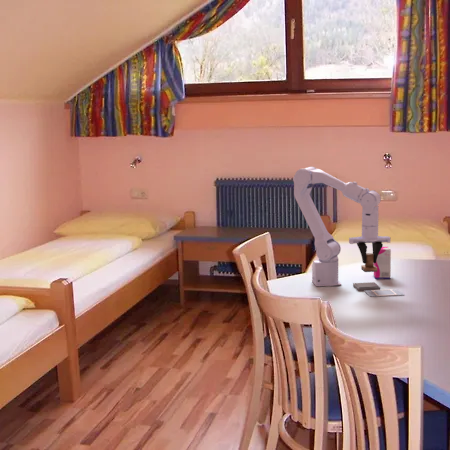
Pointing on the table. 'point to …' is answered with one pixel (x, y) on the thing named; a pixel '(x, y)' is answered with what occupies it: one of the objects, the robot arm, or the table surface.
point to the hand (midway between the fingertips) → (369, 262)
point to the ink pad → (366, 286)
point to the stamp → (369, 263)
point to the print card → (384, 293)
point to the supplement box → (383, 264)
